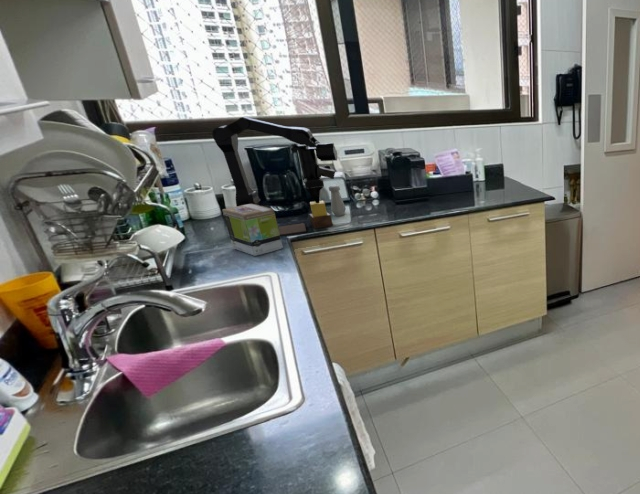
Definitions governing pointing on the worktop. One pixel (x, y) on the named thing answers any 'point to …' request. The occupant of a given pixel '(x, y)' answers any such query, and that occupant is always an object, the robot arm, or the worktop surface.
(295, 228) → the coaster
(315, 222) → the walnut block
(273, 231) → the tea box
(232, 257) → the worktop surface
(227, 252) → the worktop surface
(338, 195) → the salt shaker
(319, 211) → the yellow block
